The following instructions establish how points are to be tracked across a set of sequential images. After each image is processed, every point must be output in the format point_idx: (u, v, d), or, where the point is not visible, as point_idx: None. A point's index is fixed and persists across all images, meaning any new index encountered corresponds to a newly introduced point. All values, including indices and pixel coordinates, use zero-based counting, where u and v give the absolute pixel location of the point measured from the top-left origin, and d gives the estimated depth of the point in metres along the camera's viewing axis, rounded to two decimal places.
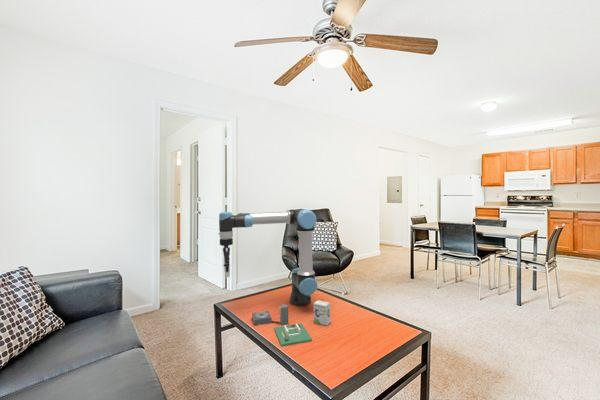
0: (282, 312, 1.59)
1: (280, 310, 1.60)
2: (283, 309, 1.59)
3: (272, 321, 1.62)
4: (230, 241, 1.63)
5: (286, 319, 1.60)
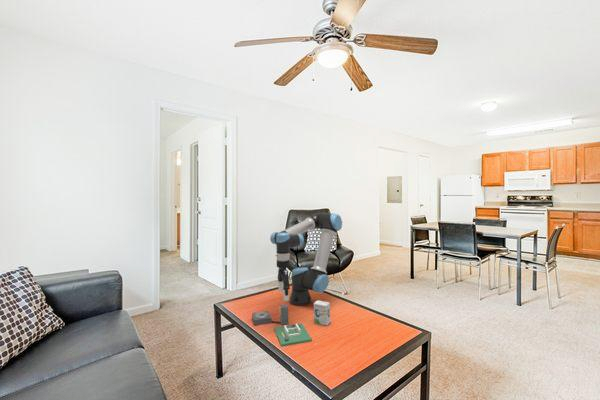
0: (282, 312, 1.59)
1: (280, 310, 1.60)
2: (283, 309, 1.59)
3: (272, 321, 1.62)
4: (288, 263, 1.58)
5: (286, 319, 1.60)
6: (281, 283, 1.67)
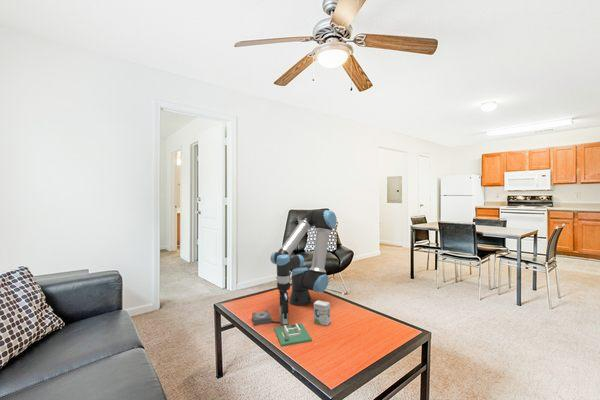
0: None
1: (280, 310, 1.60)
2: None
3: (272, 321, 1.62)
4: (288, 286, 1.59)
5: None
6: None
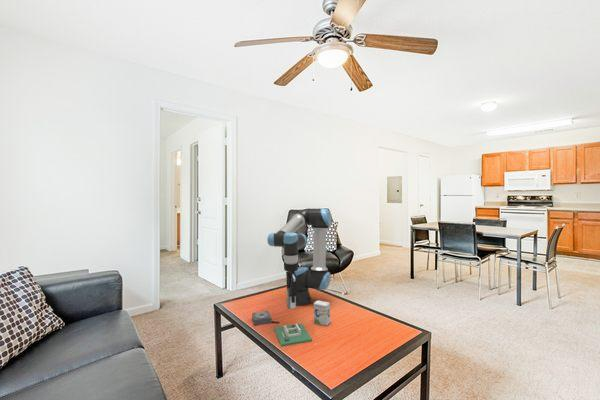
0: None
1: (287, 293, 1.45)
2: None
3: (272, 321, 1.62)
4: (296, 266, 1.45)
5: None
6: None
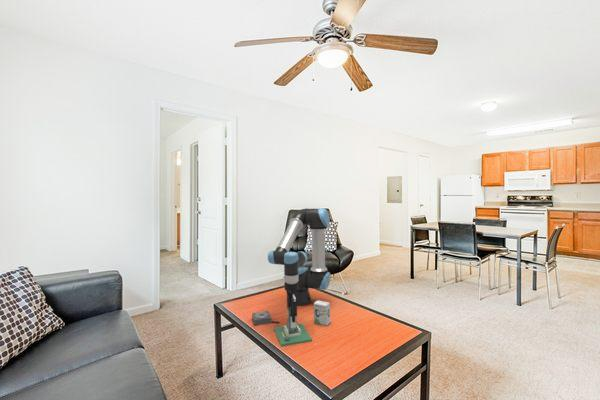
0: None
1: (287, 313, 1.46)
2: (290, 311, 1.45)
3: (272, 321, 1.62)
4: (297, 286, 1.45)
5: None
6: None
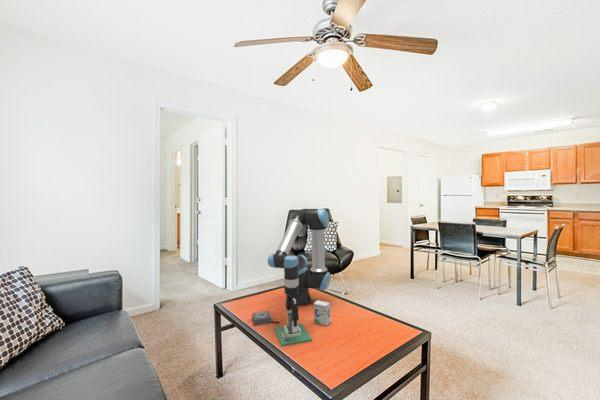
0: (290, 321, 1.45)
1: (288, 319, 1.46)
2: (291, 317, 1.45)
3: (272, 321, 1.62)
4: (297, 290, 1.45)
5: None
6: (290, 312, 1.52)
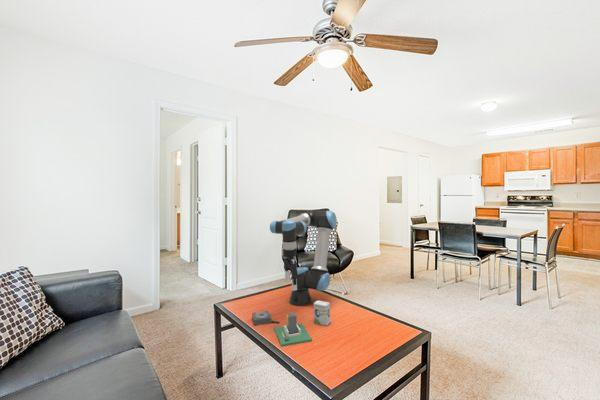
0: (290, 321, 1.45)
1: (288, 319, 1.46)
2: (291, 317, 1.45)
3: (272, 321, 1.62)
4: (295, 252, 1.53)
5: (294, 329, 1.46)
6: (288, 272, 1.62)
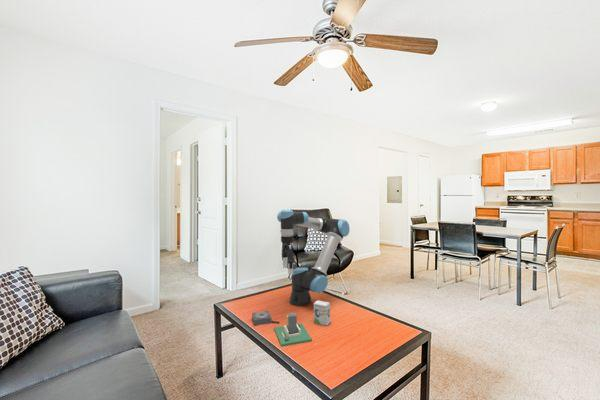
0: (290, 321, 1.45)
1: (288, 319, 1.46)
2: (291, 317, 1.45)
3: (272, 321, 1.62)
4: (292, 238, 1.64)
5: (294, 329, 1.46)
6: (285, 259, 1.73)
